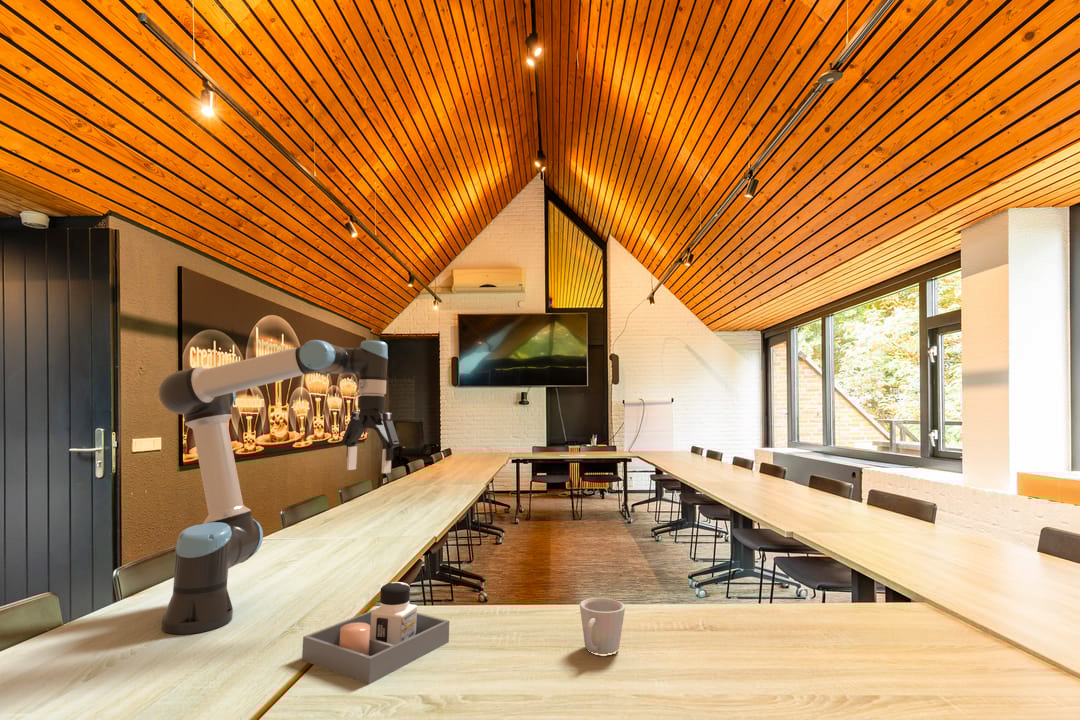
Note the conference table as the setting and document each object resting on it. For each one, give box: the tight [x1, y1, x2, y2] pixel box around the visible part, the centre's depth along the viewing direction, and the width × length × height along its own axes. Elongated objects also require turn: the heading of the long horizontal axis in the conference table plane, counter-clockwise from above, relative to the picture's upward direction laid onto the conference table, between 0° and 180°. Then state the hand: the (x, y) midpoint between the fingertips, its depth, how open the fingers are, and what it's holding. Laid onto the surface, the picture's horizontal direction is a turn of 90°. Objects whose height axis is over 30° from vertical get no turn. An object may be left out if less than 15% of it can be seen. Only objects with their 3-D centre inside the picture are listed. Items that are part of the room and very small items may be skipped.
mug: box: [579, 597, 626, 654], centre depth 127 cm, size 10×15×10 cm
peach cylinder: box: [339, 622, 370, 656], centre depth 118 cm, size 6×6×7 cm
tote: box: [301, 607, 450, 685], centre depth 124 cm, size 20×24×6 cm
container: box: [370, 581, 418, 645], centre depth 128 cm, size 8×8×13 cm
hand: (368, 471), depth 156 cm, fingers open, 13 cm apart
